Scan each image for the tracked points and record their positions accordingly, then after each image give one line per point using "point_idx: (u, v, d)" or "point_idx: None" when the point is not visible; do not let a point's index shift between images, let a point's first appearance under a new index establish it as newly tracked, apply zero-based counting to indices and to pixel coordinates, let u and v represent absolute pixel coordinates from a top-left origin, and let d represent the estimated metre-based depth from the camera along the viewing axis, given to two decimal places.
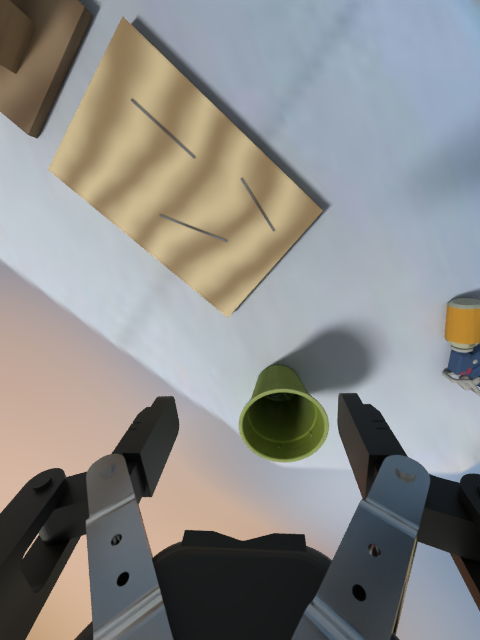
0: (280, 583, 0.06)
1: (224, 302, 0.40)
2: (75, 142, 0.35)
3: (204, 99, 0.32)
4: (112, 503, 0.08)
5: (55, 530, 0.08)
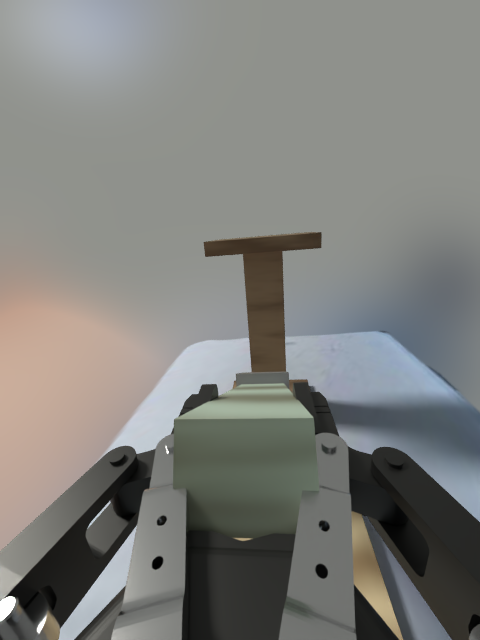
0: (280, 583, 0.06)
1: None
2: None
3: (362, 524, 0.29)
4: (169, 481, 0.08)
5: (122, 505, 0.09)
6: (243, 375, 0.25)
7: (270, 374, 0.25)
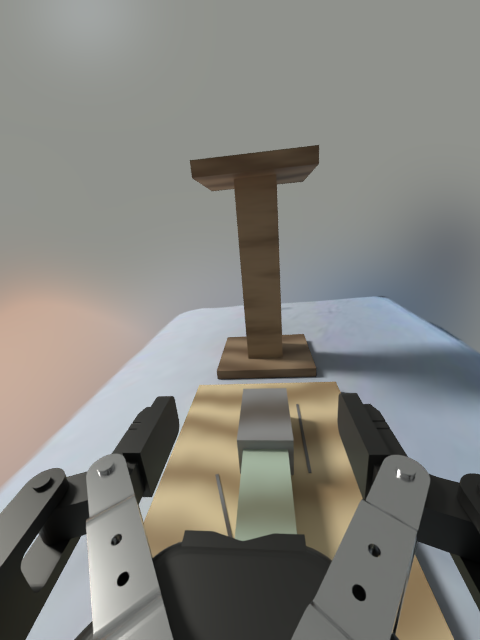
0: (280, 583, 0.06)
1: None
2: (233, 390, 0.38)
3: None
4: (112, 503, 0.08)
5: (55, 530, 0.08)
6: (244, 441, 0.24)
7: (274, 441, 0.23)
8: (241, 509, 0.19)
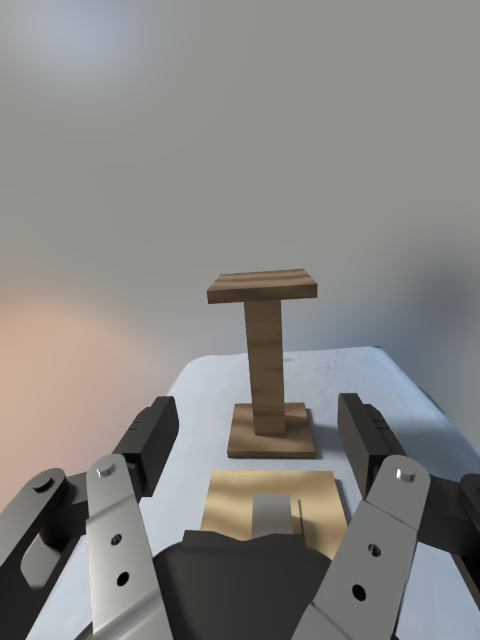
0: (280, 583, 0.06)
1: None
2: (242, 478, 0.44)
3: None
4: (112, 503, 0.08)
5: (55, 530, 0.08)
6: None
7: None
8: None
